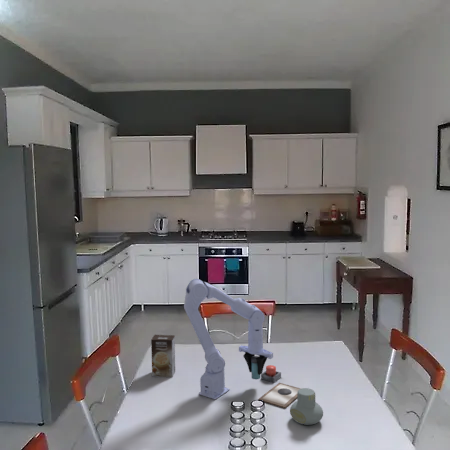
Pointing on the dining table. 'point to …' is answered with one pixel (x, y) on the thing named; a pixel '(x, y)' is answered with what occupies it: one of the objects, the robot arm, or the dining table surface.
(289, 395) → the picture frame
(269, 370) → the button
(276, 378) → the button collar
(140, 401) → the dining table surface
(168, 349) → the coffee box
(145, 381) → the dining table surface
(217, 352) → the robot arm
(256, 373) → the marker
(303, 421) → the air freshener
